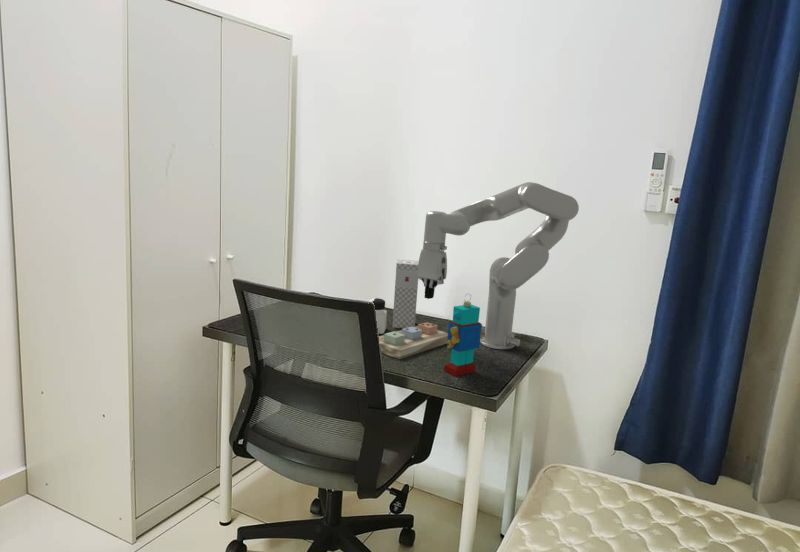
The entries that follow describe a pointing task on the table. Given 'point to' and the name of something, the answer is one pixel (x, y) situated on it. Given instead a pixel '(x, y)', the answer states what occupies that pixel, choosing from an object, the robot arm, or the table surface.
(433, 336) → the wooden puzzle board
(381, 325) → the medicine bottle
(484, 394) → the table surface
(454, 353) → the toy robot
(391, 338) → the button one
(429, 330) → the button three
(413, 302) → the box
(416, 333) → the button two
